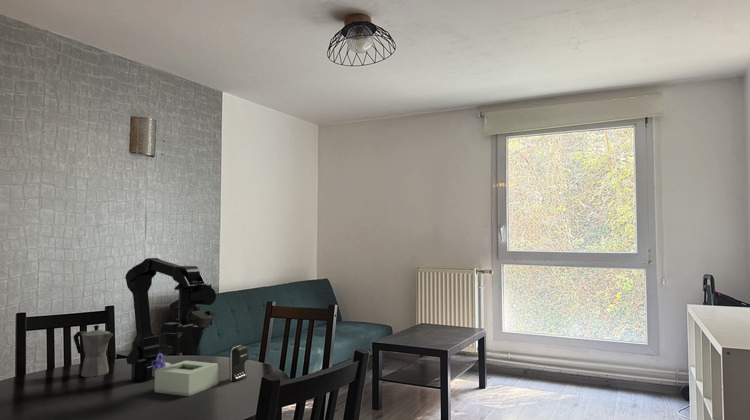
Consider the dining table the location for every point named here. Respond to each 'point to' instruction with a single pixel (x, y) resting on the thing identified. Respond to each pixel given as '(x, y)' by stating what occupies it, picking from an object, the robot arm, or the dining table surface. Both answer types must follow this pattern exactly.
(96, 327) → the coffeepot
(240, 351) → the battery charger
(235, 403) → the dining table surface
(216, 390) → the dining table surface
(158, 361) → the pudding
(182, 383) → the open box
